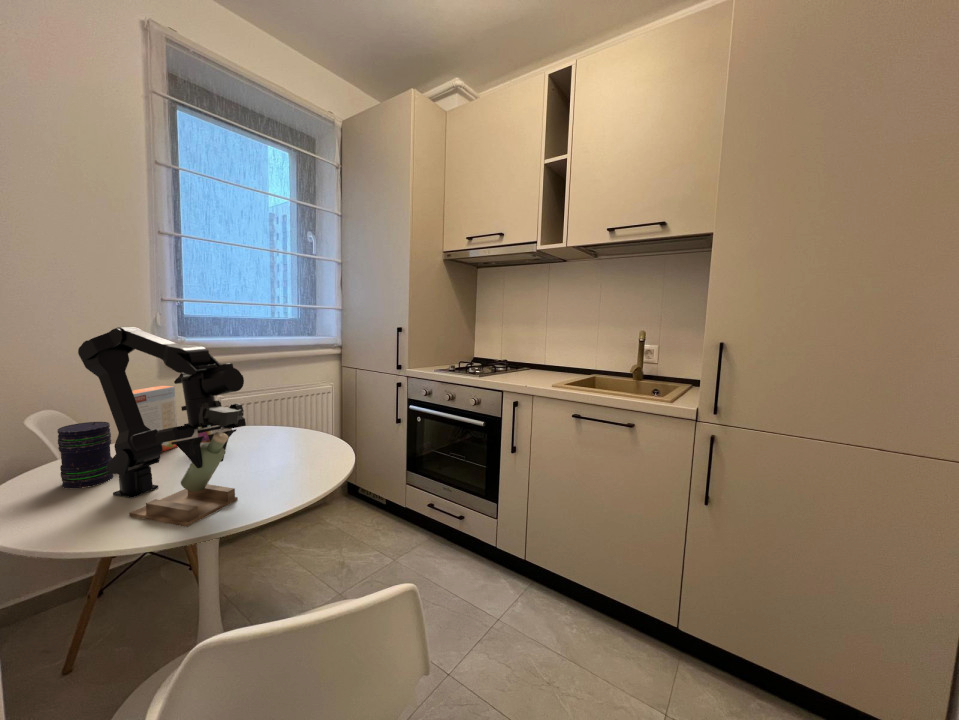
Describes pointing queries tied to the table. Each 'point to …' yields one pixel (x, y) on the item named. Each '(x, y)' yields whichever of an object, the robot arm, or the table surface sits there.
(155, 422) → the cracker box
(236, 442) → the table surface
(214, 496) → the walnut U-rest
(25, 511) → the table surface
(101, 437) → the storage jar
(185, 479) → the olive bottle
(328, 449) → the table surface
